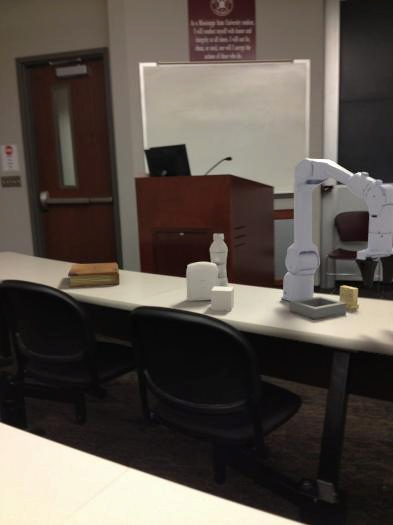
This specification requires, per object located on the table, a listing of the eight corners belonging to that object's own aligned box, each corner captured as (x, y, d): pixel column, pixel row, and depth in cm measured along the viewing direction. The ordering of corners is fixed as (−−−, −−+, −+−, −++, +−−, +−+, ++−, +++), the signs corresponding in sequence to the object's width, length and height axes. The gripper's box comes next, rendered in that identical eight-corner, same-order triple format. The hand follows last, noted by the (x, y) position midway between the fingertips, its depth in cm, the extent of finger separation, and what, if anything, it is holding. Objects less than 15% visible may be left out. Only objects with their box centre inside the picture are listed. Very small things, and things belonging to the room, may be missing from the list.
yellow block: (350, 309, 129) (351, 289, 128) (337, 305, 134) (338, 286, 133) (358, 307, 131) (359, 288, 130) (345, 304, 135) (346, 285, 134)
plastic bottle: (206, 291, 155) (205, 234, 152) (214, 287, 161) (214, 233, 158) (223, 293, 152) (222, 235, 149) (230, 289, 158) (230, 233, 155)
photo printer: (187, 301, 141) (186, 263, 139) (186, 298, 145) (185, 261, 143) (219, 300, 142) (219, 262, 140) (217, 297, 146) (217, 260, 144)
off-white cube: (211, 310, 131) (210, 290, 130) (214, 305, 136) (214, 286, 135) (231, 311, 129) (231, 291, 128) (233, 306, 135) (233, 286, 134)
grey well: (289, 311, 128) (289, 301, 127) (319, 305, 134) (320, 296, 133) (314, 319, 119) (315, 309, 119) (345, 313, 125) (346, 303, 124)
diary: (119, 286, 168) (119, 271, 167) (68, 289, 164) (67, 274, 163) (118, 275, 190) (117, 262, 189) (73, 277, 187) (72, 264, 186)
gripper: (374, 235, 106) (371, 290, 108) (412, 232, 113) (409, 284, 115) (351, 233, 112) (348, 285, 114) (388, 230, 119) (385, 279, 121)
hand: (377, 284), depth 115 cm, fingers open, 7 cm apart
